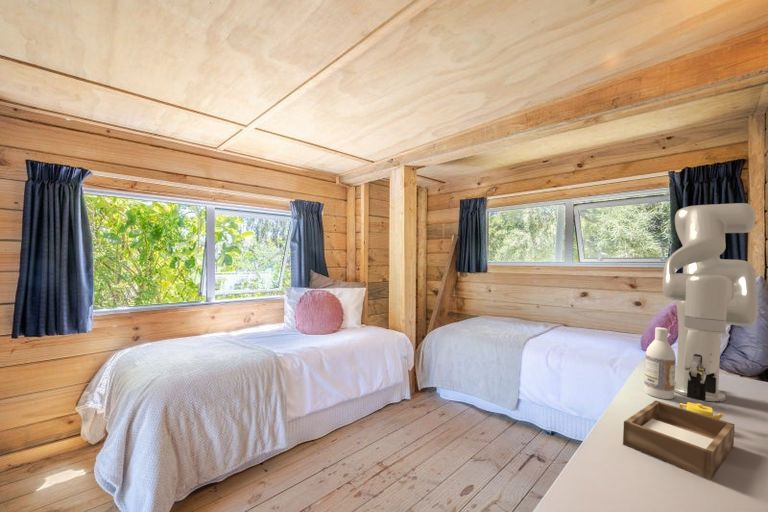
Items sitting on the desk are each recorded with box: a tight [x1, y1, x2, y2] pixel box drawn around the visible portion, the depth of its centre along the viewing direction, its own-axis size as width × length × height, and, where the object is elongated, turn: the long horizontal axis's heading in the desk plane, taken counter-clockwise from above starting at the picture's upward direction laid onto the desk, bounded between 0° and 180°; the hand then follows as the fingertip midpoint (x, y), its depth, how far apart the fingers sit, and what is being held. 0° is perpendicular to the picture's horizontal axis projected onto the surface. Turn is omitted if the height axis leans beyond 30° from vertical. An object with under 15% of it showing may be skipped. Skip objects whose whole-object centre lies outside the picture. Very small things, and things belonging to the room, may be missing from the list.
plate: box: [643, 419, 714, 449], centre depth 74 cm, size 9×11×2 cm
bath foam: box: [643, 326, 677, 400], centre depth 103 cm, size 7×7×20 cm
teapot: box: [678, 401, 724, 420], centre depth 85 cm, size 8×6×5 cm
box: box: [622, 400, 735, 481], centre depth 75 cm, size 20×14×5 cm
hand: (701, 395), depth 84 cm, fingers open, 9 cm apart
